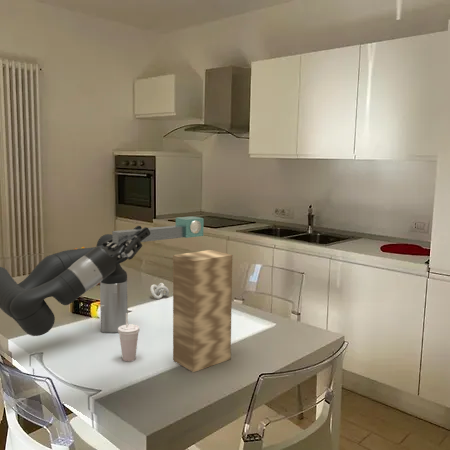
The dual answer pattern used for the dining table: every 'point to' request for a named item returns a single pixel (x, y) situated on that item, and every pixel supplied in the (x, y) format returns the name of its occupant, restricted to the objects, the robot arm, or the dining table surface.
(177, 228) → the bar
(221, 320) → the stand
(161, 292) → the knot
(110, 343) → the dining table surface
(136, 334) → the smoothie
